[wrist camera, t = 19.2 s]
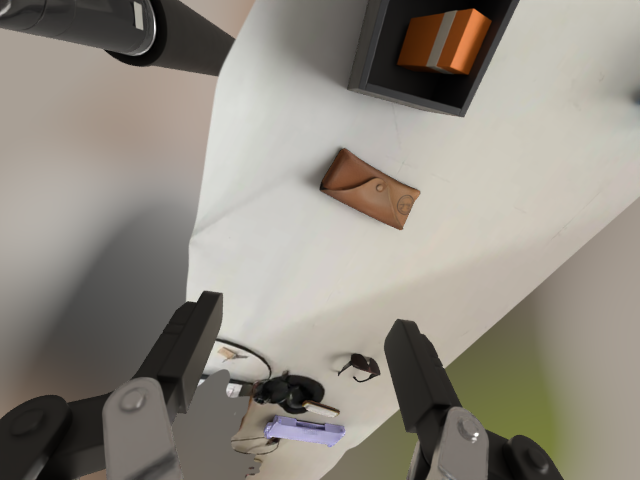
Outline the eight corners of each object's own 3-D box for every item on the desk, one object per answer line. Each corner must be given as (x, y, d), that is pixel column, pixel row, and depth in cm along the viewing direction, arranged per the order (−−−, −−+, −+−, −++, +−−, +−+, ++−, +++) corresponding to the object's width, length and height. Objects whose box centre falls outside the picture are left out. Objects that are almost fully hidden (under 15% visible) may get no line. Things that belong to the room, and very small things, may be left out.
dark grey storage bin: (346, 89, 37) (358, 88, 28) (376, -35, 30) (404, -92, 21) (428, 111, 39) (464, 117, 30) (473, -2, 32) (539, -41, 23)
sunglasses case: (424, 190, 45) (424, 218, 42) (399, 209, 51) (397, 235, 48) (340, 144, 41) (333, 172, 38) (323, 171, 47) (316, 196, 43)
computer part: (272, 411, 89) (262, 429, 97) (271, 425, 86) (260, 442, 93) (346, 424, 96) (331, 439, 103) (347, 437, 92) (332, 452, 99)
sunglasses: (382, 359, 74) (384, 376, 70) (359, 374, 80) (360, 390, 76) (353, 349, 71) (354, 367, 67) (332, 365, 77) (331, 382, 73)
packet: (396, 65, 34) (449, 67, 27) (410, 17, 31) (473, 7, 25) (414, 72, 35) (468, 75, 29) (429, 27, 33) (492, 20, 26)
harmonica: (339, 409, 90) (340, 415, 88) (334, 413, 91) (335, 419, 89) (306, 398, 85) (306, 405, 83) (302, 402, 86) (301, 408, 85)
